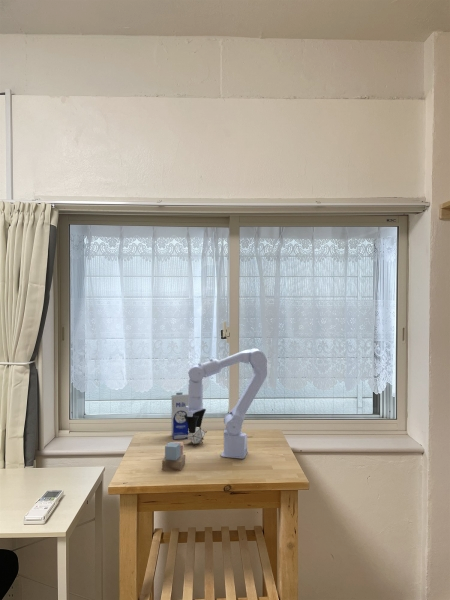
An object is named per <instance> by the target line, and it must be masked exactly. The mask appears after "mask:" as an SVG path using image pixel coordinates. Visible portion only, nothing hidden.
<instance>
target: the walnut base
mask: <svg viewBox="0 0 450 600" xmlns="http://www.w3.org/2000/svg"><path fill="white" fill-rule="evenodd" d="M161 463H162V464H161V470H163V471H164V470H165V471H179V472H180V471H182V469H183V468H184V466H185V463H186V454H183V455H181V456H180V457H179V458H178V460H177V461H175V460H165V457H164V458H162V461H161Z"/></svg>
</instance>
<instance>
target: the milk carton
mask: <svg viewBox="0 0 450 600" xmlns="http://www.w3.org/2000/svg"><path fill="white" fill-rule="evenodd" d="M170 397H171V437H172V440H186V439H188V438H185V437H187V435H188V433H189V429H188V424H187V422H186V420H185V418H184V415H185V414H187V411H188V409H186V408H185V407H186V406H188V393H187V394H183V392H176V394H173V395H171V396H170ZM188 440H189V439H188Z"/></svg>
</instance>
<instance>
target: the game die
mask: <svg viewBox="0 0 450 600" xmlns="http://www.w3.org/2000/svg"><path fill="white" fill-rule="evenodd" d="M207 432H208V431H205V430H204V429H202V426H201V427H196V430H195V433H189V432H188V435H187V437H185V438H188V440H189V441H190V442H191V443H192V444H193V447H194V446H195V445H198V444H199V443H201V444H203V443H204V442H203V440H205V439H204V437H205V435H206V433H207Z"/></svg>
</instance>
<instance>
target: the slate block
mask: <svg viewBox="0 0 450 600" xmlns="http://www.w3.org/2000/svg"><path fill="white" fill-rule="evenodd" d="M173 442H174V441H171V442H168V443H167V444H166V445H164V458H165V460H175V461H177V460H178V458H179V457H180V456H181V443H173Z"/></svg>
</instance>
